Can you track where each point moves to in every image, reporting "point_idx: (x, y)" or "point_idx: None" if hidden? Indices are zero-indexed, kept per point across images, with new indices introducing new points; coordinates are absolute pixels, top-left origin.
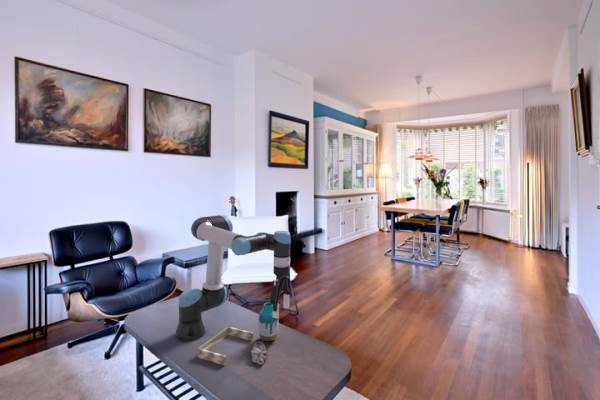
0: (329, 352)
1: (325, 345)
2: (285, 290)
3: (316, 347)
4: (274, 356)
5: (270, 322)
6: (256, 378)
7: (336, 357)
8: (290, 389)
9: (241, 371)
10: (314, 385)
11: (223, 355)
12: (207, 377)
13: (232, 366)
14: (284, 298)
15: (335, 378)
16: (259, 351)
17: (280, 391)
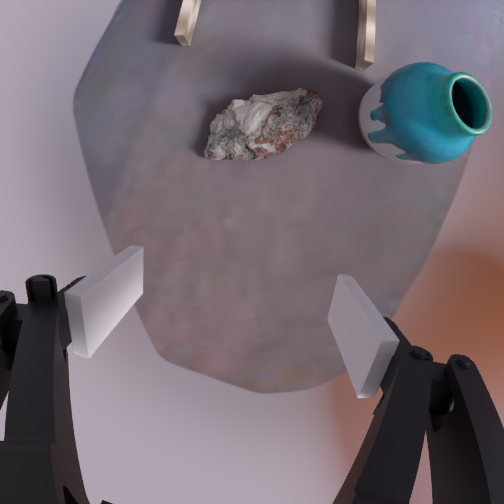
0: None
1: None
2: (381, 408)
3: None
4: (281, 180)
5: (390, 132)
6: (149, 167)
7: (322, 368)
8: None
9: (167, 106)
10: (179, 335)
11: (183, 24)
12: (121, 37)
13: (184, 66)
14: (361, 326)
15: (226, 376)
16: (247, 129)
17: None
